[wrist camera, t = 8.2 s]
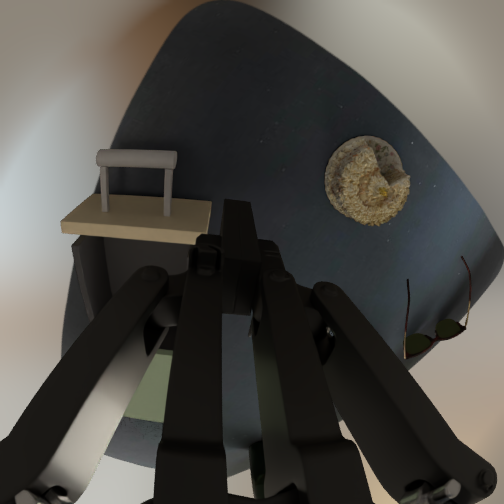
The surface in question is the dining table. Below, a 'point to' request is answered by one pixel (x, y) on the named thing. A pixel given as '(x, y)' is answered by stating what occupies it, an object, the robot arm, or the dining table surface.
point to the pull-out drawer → (132, 231)
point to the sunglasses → (443, 331)
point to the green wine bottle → (257, 469)
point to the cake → (366, 180)
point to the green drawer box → (152, 390)
